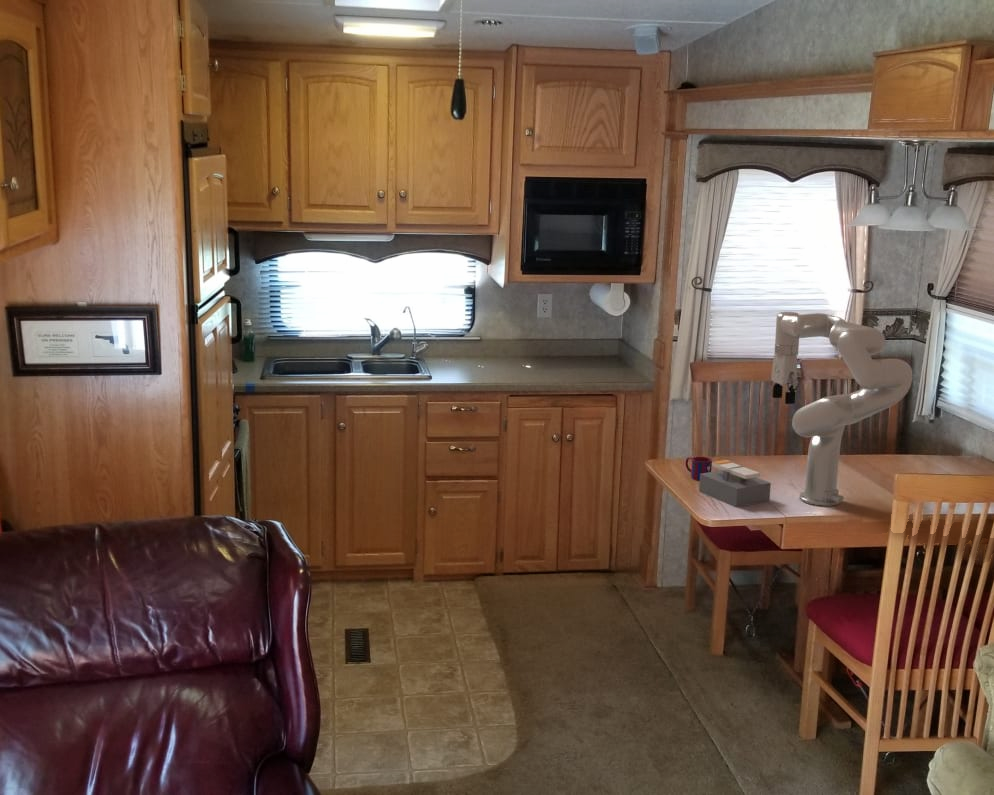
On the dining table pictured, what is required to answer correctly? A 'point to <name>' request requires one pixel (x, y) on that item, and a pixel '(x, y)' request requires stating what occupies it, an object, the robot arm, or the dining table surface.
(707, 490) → the switch box
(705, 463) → the mug
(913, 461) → the dining table surface
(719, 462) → the rocker
